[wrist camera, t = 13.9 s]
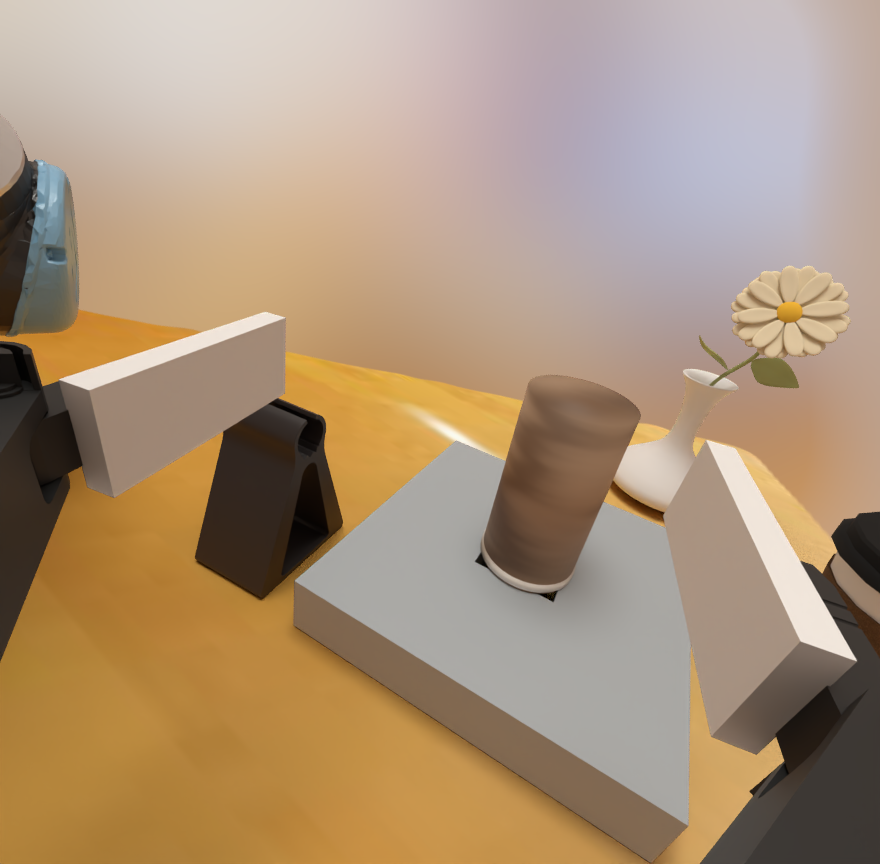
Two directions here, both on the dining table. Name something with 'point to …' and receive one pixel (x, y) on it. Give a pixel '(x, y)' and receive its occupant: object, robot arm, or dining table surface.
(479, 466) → the slate board
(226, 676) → the dining table surface
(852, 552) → the coffee cup
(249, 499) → the phone stand
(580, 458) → the walnut peg
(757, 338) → the flower in vase
